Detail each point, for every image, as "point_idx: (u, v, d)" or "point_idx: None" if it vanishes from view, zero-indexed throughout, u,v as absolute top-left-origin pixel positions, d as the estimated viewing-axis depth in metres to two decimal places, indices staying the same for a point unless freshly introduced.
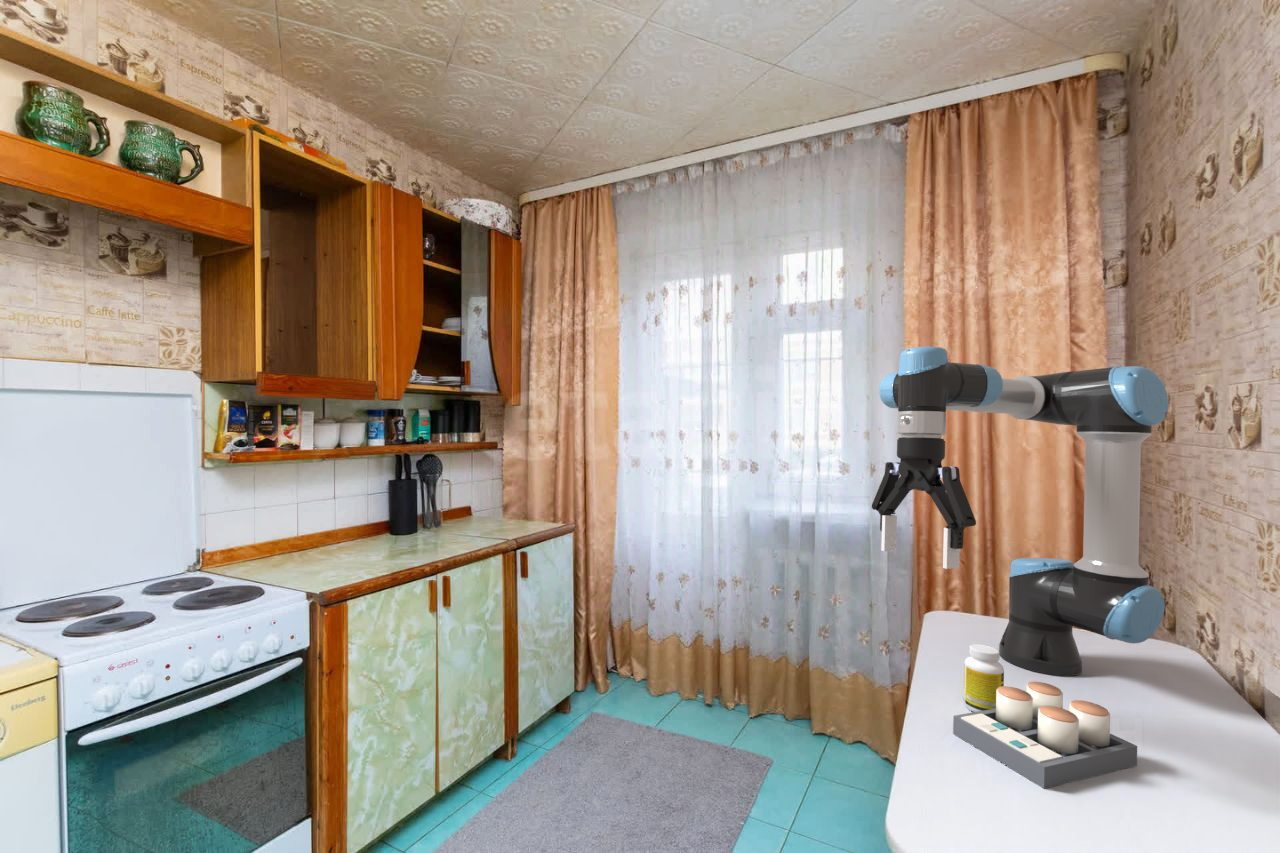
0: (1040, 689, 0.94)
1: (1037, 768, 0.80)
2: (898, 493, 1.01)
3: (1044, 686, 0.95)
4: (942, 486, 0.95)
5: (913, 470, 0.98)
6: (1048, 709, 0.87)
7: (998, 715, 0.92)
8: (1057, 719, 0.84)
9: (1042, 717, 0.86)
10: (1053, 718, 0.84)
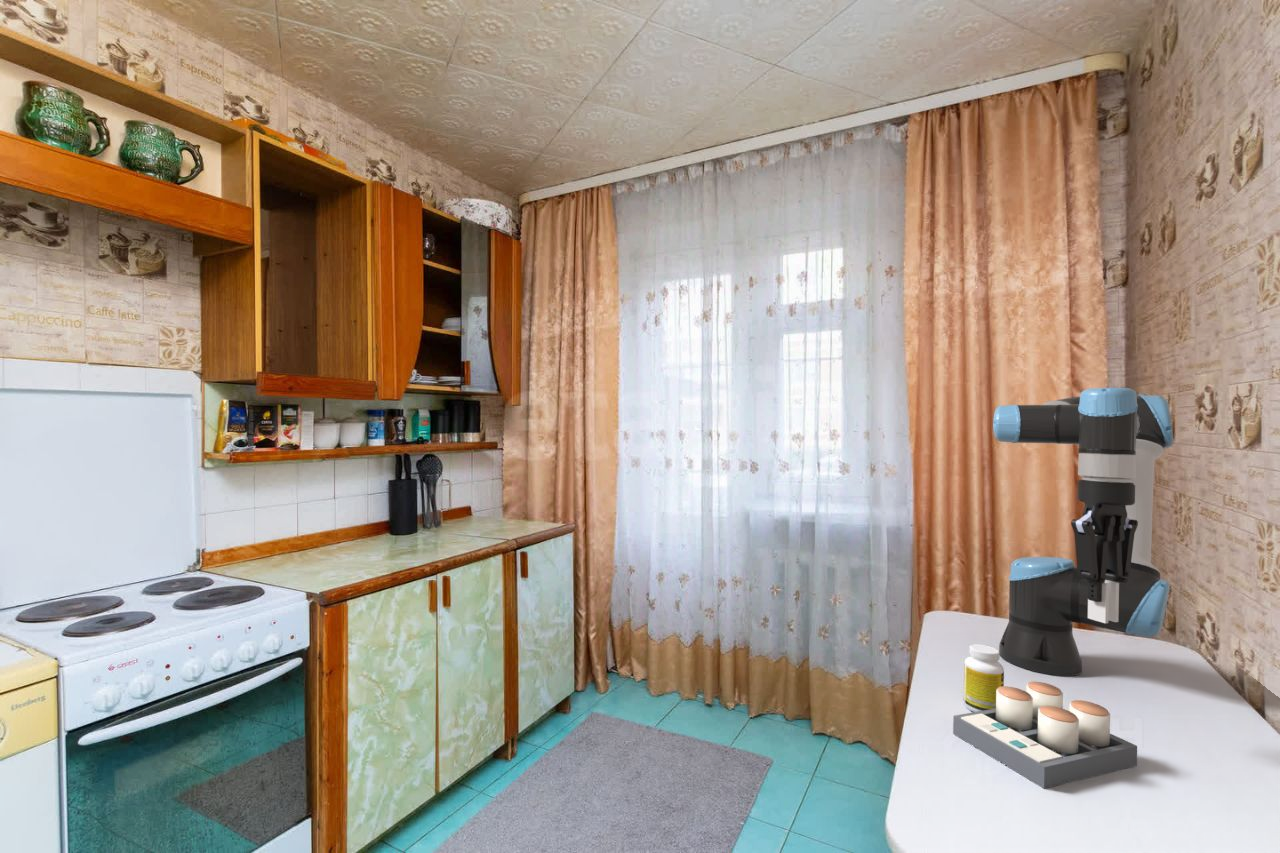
0: (1040, 689, 0.94)
1: (1037, 768, 0.80)
2: None
3: (1044, 686, 0.95)
4: (1103, 536, 0.93)
5: None
6: (1048, 709, 0.87)
7: (998, 715, 0.92)
8: (1057, 719, 0.84)
9: (1042, 717, 0.86)
10: (1053, 718, 0.84)
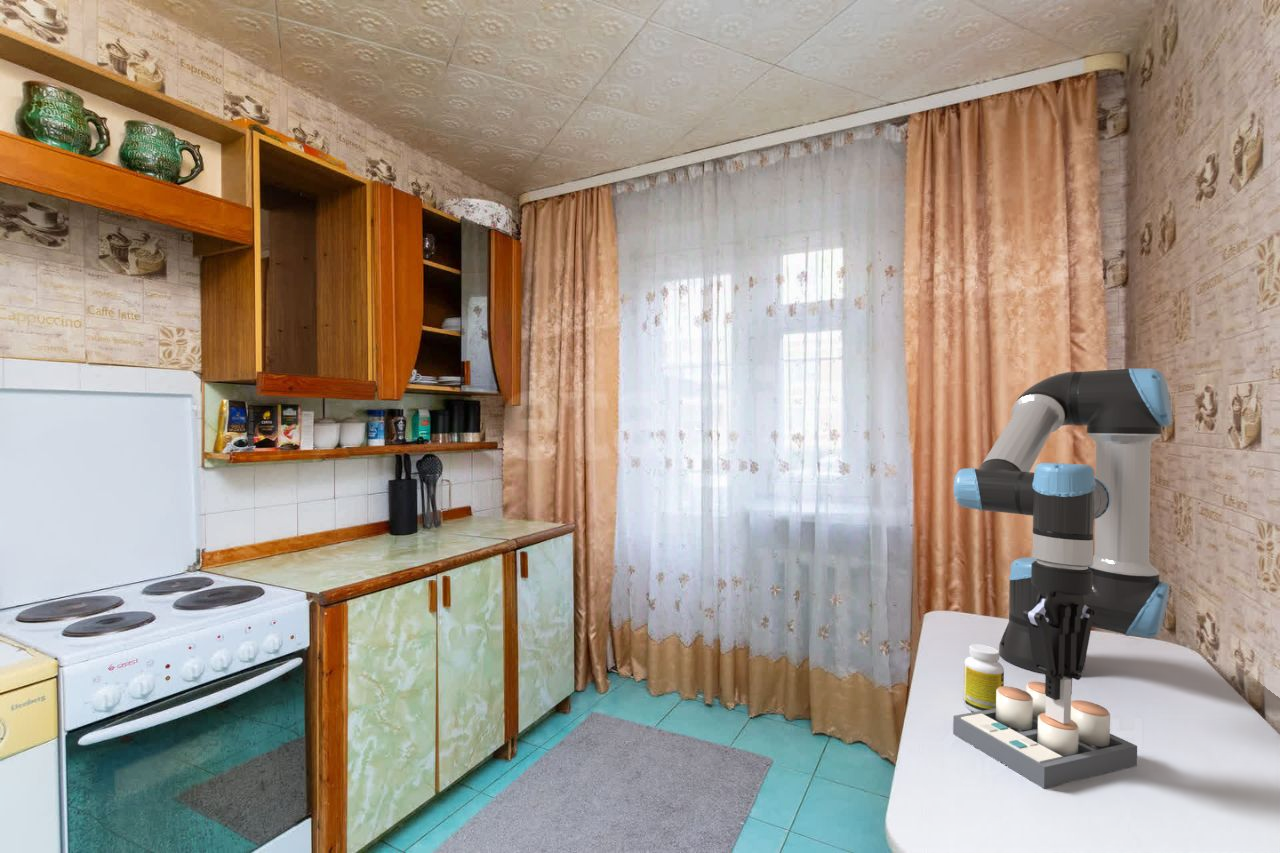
0: (1040, 689, 0.94)
1: (1037, 768, 0.80)
2: None
3: (1044, 686, 0.95)
4: (1059, 629, 0.84)
5: None
6: None
7: (998, 715, 0.92)
8: (1057, 727, 0.84)
9: (1041, 724, 0.86)
10: (1053, 726, 0.84)
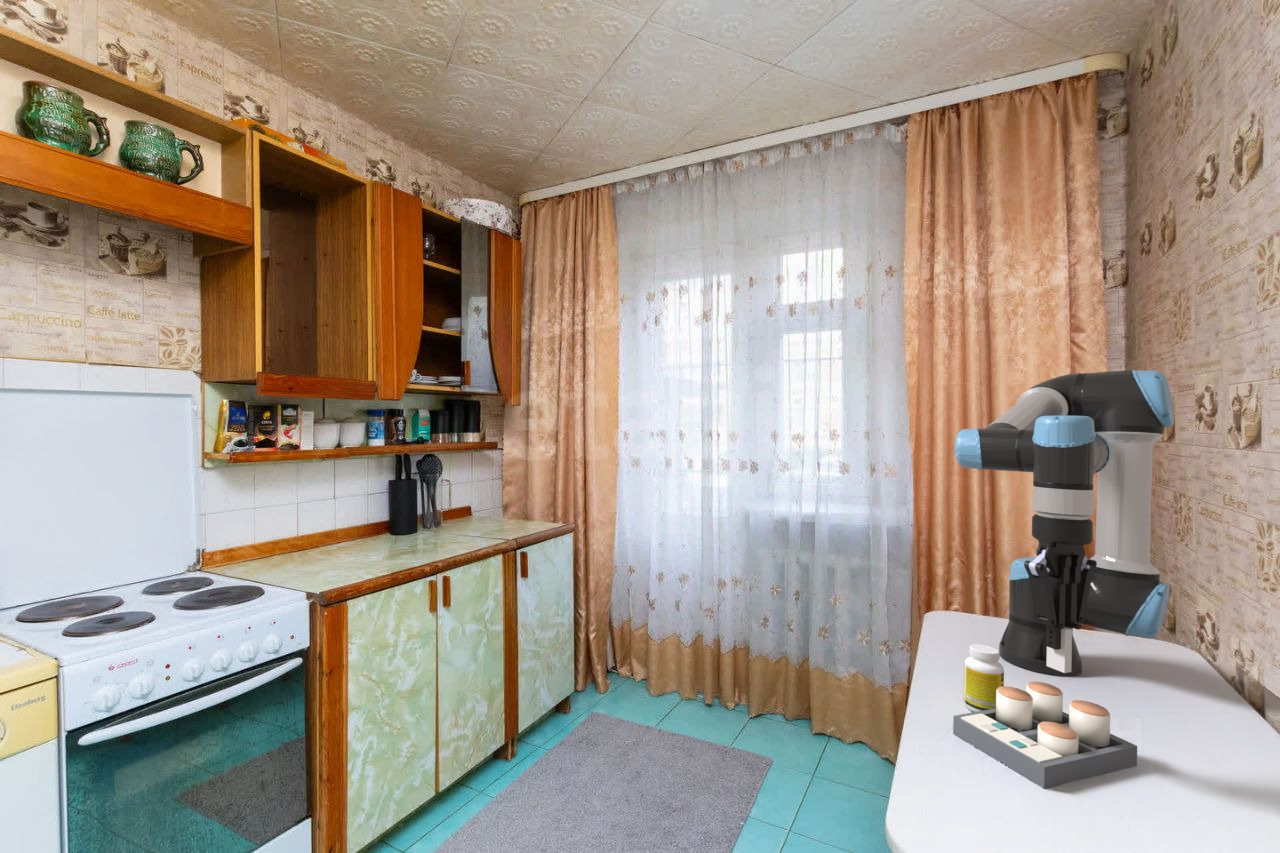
0: (1040, 689, 0.94)
1: (1037, 768, 0.80)
2: None
3: (1044, 686, 0.95)
4: (1060, 579, 0.85)
5: None
6: (1048, 725, 0.87)
7: (998, 715, 0.92)
8: (1057, 736, 0.84)
9: (1041, 733, 0.86)
10: (1052, 735, 0.84)
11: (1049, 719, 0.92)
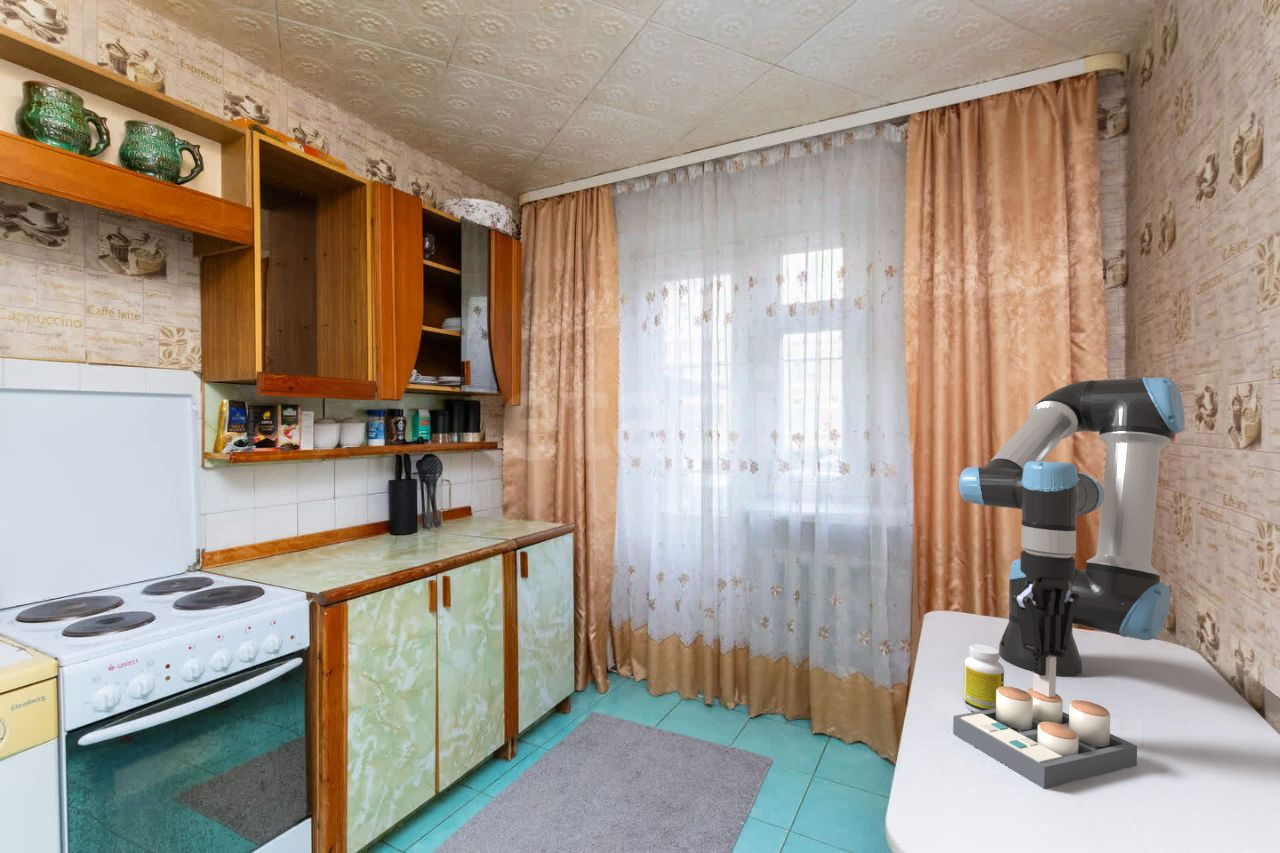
0: (1040, 696, 0.94)
1: (1037, 768, 0.80)
2: None
3: None
4: (1045, 611, 0.93)
5: None
6: (1048, 725, 0.87)
7: (998, 715, 0.92)
8: (1057, 736, 0.84)
9: (1041, 733, 0.86)
10: (1052, 735, 0.84)
11: None
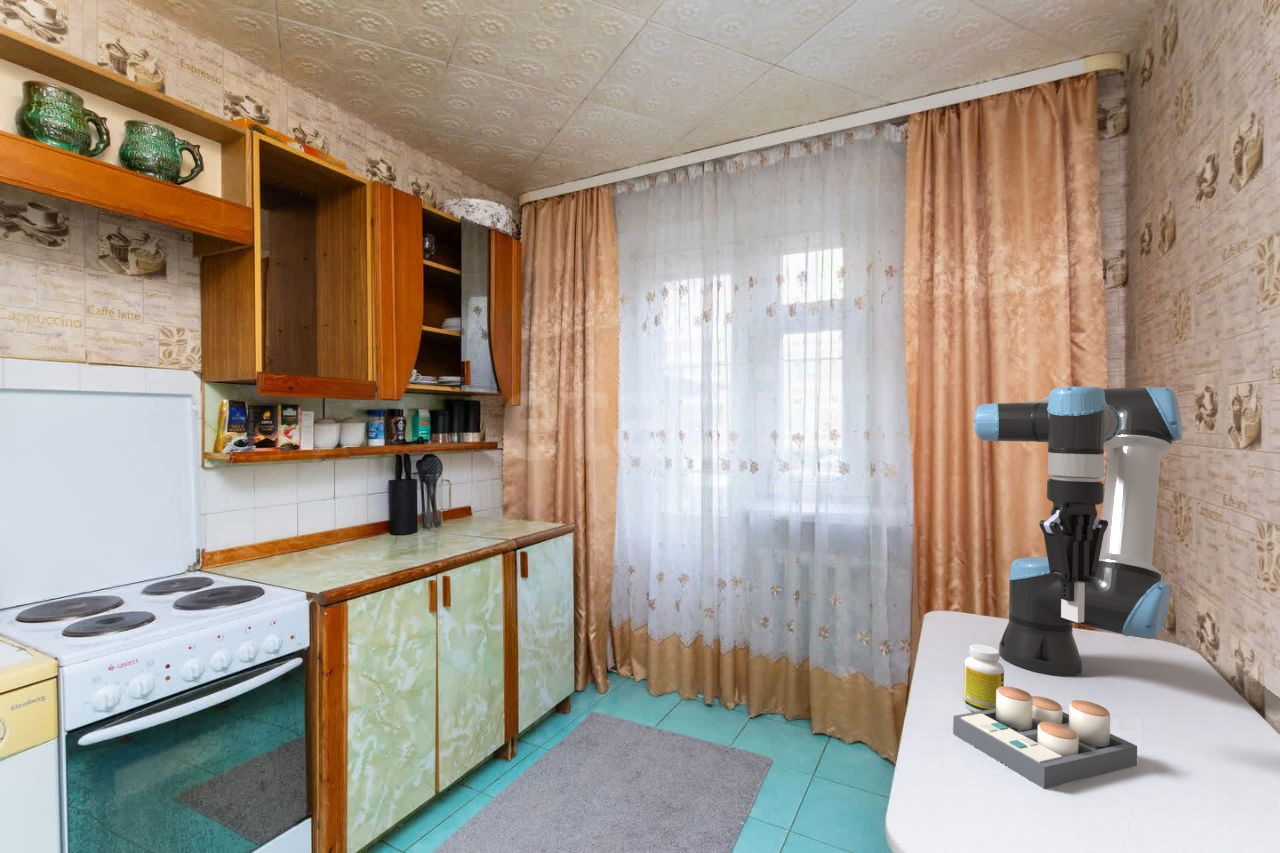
0: (1040, 704, 0.94)
1: (1037, 768, 0.80)
2: None
3: (1044, 701, 0.95)
4: (1073, 536, 0.93)
5: None
6: (1048, 725, 0.87)
7: (998, 715, 0.92)
8: (1057, 736, 0.84)
9: (1041, 733, 0.86)
10: (1052, 735, 0.84)
11: None
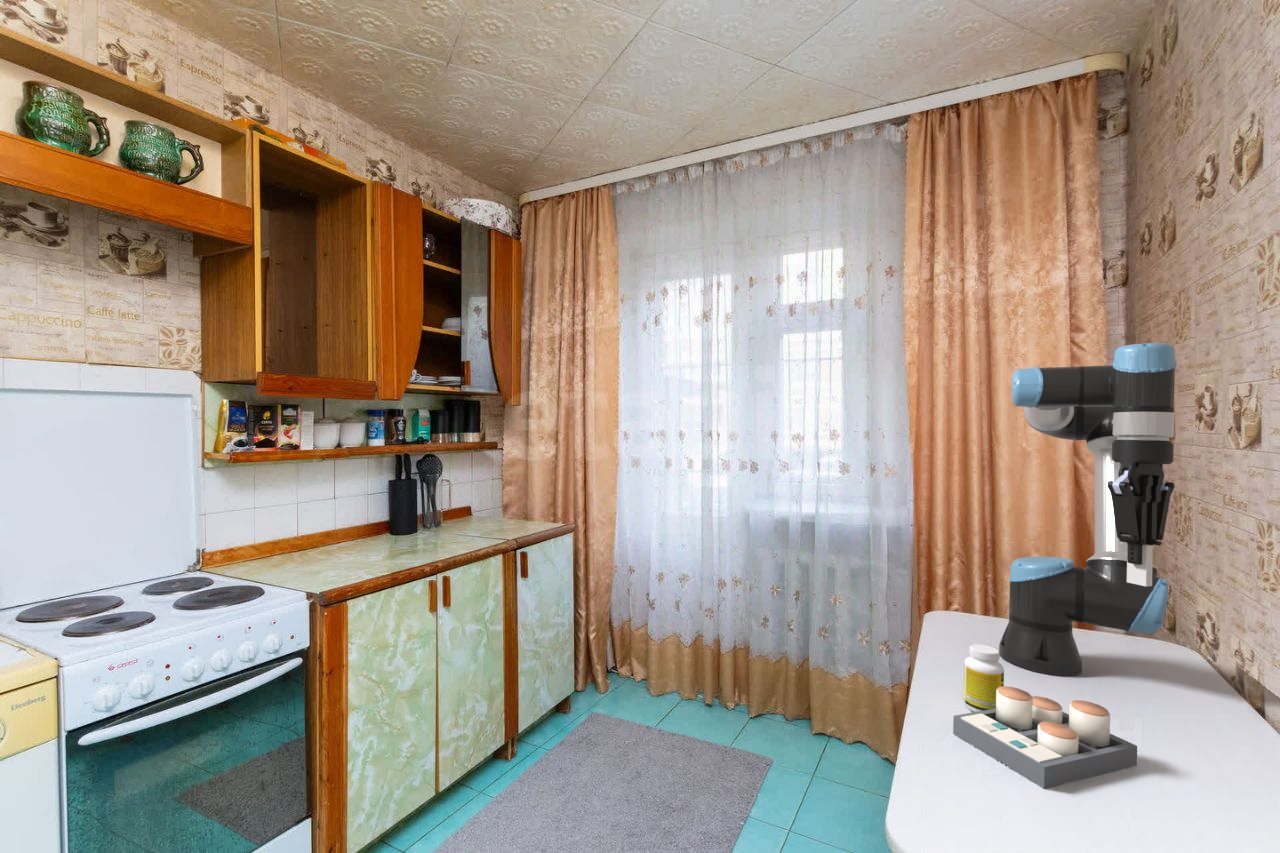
0: (1040, 704, 0.94)
1: (1037, 768, 0.80)
2: None
3: (1044, 701, 0.95)
4: (1141, 497, 0.90)
5: None
6: (1048, 725, 0.87)
7: (998, 715, 0.92)
8: (1057, 736, 0.84)
9: (1041, 733, 0.86)
10: (1052, 735, 0.84)
11: None
